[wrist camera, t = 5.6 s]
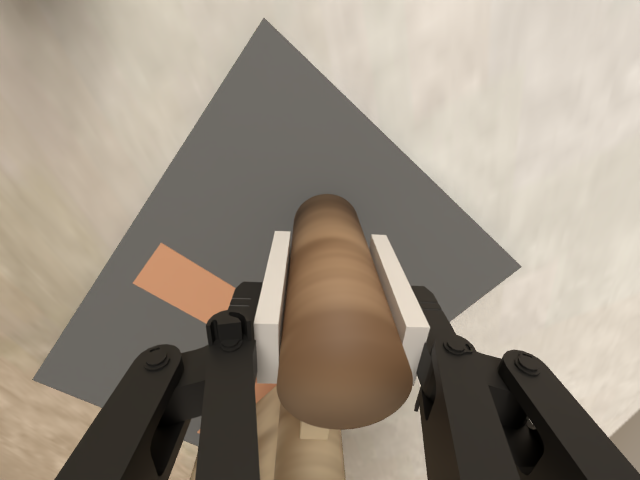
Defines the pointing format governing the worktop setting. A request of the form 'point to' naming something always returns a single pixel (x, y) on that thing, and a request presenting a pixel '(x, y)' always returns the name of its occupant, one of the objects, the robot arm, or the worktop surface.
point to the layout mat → (261, 219)
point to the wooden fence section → (337, 327)
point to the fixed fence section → (292, 447)
